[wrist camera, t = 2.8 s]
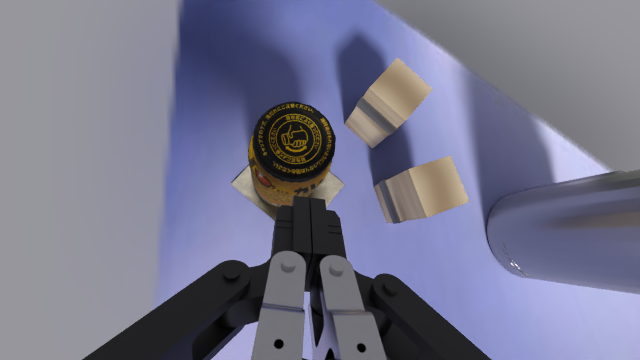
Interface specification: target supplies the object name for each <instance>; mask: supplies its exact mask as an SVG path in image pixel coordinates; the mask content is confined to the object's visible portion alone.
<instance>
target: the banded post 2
mask: <svg viewBox="0 0 640 360" xmlns="http://www.w3.org/2000/svg"><path fill="white" fill-rule="evenodd" d="M373 187H374V189H375V192H376V195H377V198H378V200H379V203H380V206H381V208H382V211H383V214H384V217H385V219H386V222H387V223H392V222H393V224H394V223H401V222H403V221H406V220H414V219H421V218H427V217H430V216H433V215H435V214H438V213H441V212H443V211H446V210H449V209H451V208H454V207H457V206H459V205H462V204H465V203H467V202H469V200H468V197H467V195H466V192H465V190H464V187H463V185H462V182H461V180H460V177H459V175H458V173H457V170H456V168H455V165H454V163H453V160H452V158H451V155H450V156H447V157H444V158H441V159H438V160H435V161H432V162H429V163H426V164H423V165H420V166H417V167H414V168H410V169H408V170H406V171H404V172H402V173H400V174H398V175H396V176H394V177H391V178H388V179H385V180H383V181H381V182H379V183H378V184H377V185H375V186H373Z"/></svg>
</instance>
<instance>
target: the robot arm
mask: <svg viewBox="0 0 640 360" xmlns="http://www.w3.org/2000/svg"><path fill="white" fill-rule="evenodd" d="M487 235H488V240H489V244H490V247H491V249H492V252H493V254H494V256H495V257H496V259H497V260H498V262H499V263H500V264H501V265H502V266H503V267H504V268H505V269H507V270H508V271H509V272H511V273H512V274H515V275H517V276H520V277H524V278H531V279H538V280H544V281H551V282H557V283H564V284H571V285H578V286H585V287H592V288H599V289H606V290H613V291H620V292H627V293H634V294H640V170H635V171H629V172H624V171H615V172H610V173H604V174H599V175H594V176H589V177H584V178H579V179H574V180H569V181H564V182H559V183H554V184H549V185H544V186H539V187H534V188H530V189H529V190H528V191H523V192H518V193H513V194H509V195H506V196H505V197H503V198H501V199H500V200H499V201H498V202H497V203H496V204H495V205H494V207H493V208H492V210H491V212H490V215H489V218H488V224H487ZM304 291H307V292H310V301H309V305H308V313H309V323H310V332H311V341H312V350H313V359H312V360H491V359H490V358H489V357H488V356H487V355H485V354H484V353H483V352H482V351H481V350H480V349H479V348H477V347H476V346H475V345H474V344H473V343H472V342H471V341H469V340H468V339H467V338H466V337H465V336H464V335H463V334H461V333H460V332H459V331H458V330H457V329H456V328H455V327H453V326H452V325H451V324H450V323H449V322H448V321H447V320H445V319H444V318H443V317H442V316H441V315H440V314H439V313H437V312H436V311H435V310H434V309H433V308H432V307H431V306H429V305H428V304H427V303H426V302H425V301H424V300H423V299H421V298H420V297H419V296H418V295H417V294H416V293H415V292H413V291H412V290H411V289H410V288H409V287H408V286H407V285H405V284H404V283H403V282H402V281H401V280H400V279H398V278H397V277H395V276H393V275H390V274H379V275H377V276H376V277H375V278H374V279H372V278H370V277H367V276H364V275H362V274H359V273H358V272H356V271H355V270H354V269H353V267H352V265H351V263H350V262H349V261H348V260H347V258H346V252H345V246H344V240H343V235H342V229H341V223H340V218H339V217H338V215H337V214H336V212H335V211H331V210H326V203H325V199H319V198H309V197H301V196H293V201H292V206H287V205H281V206H280V208H279V209H278V210H277V212H276V219H275V225H274V232H273V241H272V251H271V258H270V259H269V260H268V261H267V262H266V263H264V264H262V265H259V266H255V267H250V268H249V267H248V266H247V265H246V264H245V263H243V262H241V261H237V260H228V261H224V262H222V263H220V264H218V265H217V266H216V267H214V268H213V269H211V270H210V271H208V272H207V273H206V274H204V275H203V276H201V277H200V278H198V279H197V280H196V281H194V282H193V283H191V284H190V285H188V286H187V287H185V288H184V289H183V290H181V291H180V292H178V293H177V294H175V295H174V296H173V297H171V298H170V299H168V300H167V301H165V302H164V303H163V304H161V305H160V306H158V307H157V308H155V309H154V310H153V311H151V312H150V313H148V314H147V315H146V316H144V317H143V318H141V319H140V320H138V321H137V322H135V323H134V324H133V325H131V326H130V327H128V328H127V329H125V330H124V331H123V332H121V333H120V334H118V335H117V336H115V337H114V338H112V339H111V340H110V341H108V342H107V343H105V344H104V345H103V346H101V347H100V348H98V349H97V350H96V351H94V352H93V353H91V354H90V355H88V356H87V357H85V358H84V359H82V360H211V359H212V358H213V357H214V356H215V355H216V354H217V353H218V352H219V351H220V350H221V349H222V348H223V347H224V346H225V345H226V344H227V343H228V342H229V341H230V340H231V339H232V338H234V337H235V336H236V335H237V334H238V333H239V332H240V331H241V330H242V329H243V327H244V326H245V325H246V324H250V323H254V322H257V321H258V327H257V332H256V337H255V342H254V347H253V352H252V357H251V360H307V359H304V358H302V351H303V335H304V319H305V311H304V310H303V302H304Z"/></svg>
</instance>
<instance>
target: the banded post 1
mask: <svg viewBox="0 0 640 360" xmlns="http://www.w3.org/2000/svg"><path fill="white" fill-rule="evenodd" d="M431 90H432V88H431V87H430V86H429V85H428V84H426V83H425V82H424V81H423V80H422V79H421V78H420V77H419V76H418V75H416V74H415V73H414V72H413V71H412V70H411V69H410V68H409V67H407V66H406V65H405V64H404V63H403V62H402V61H401V60H400V59H399V58H397V59H396V60H395V61H394V62H393V63H392V64H391V65H390V66H389V67H388V68H387V69H386V70H385V71H384V72H383V74H382V75H381V76H380V77H379V78H378V79H377V80H376V81H375V82H374V83H373V84H372V85H371V86H370V87H369V89H368V90H367V91H366V93H365V94H364V95H363V96H362V97H361V98H360V100H359V101H358V103H357V104H356V108H355V109H354V111H353V112H352V114H351V115H350V116H349V118H348V119H347V121H346V122H345V125H346V126H347V127H348V128H349V129H351V130H352V131H353V132H354V133H355V134H356V135H357V136H358V137H360V138H361V139H362V140H363V141H364V142H365V143H366V144H367V145H368V146H370V147H371V148H372V149H373V148H374V147H375V146H377V145H378V144H379V143H380V142H381V141H382V140H384V139H385V138H386V137H387V136H388V135H391V134H393V133H394V132H395V131H396V130H397V129H398V128H399V127H400V126H401V125H402V123H404V122H405V121H406V120H407V119H408V117H409V116H410V115H411V114H412V113H413V112H414V110H415V109H416V108H417V107H418V106H419V105H420V103H421V102H422V101H423V100H424V99H425V97H426V96H427V95H428V94H429V93H430V92H431Z"/></svg>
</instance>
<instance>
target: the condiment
mask: <svg viewBox="0 0 640 360" xmlns="http://www.w3.org/2000/svg"><path fill="white" fill-rule="evenodd" d="M335 141H336V137H335V135H334V132H333V130H332V127H331V125H330V123H329V121H328V120H327V118H326V117H325V116H324V115H322V114H321V113H320V112H319V111H318V110H316V109H315V108H313V107H312V106H310V105H305V104H301V103H299V102H286V103H283V104H279V105H277V106H275V107H273V108H271V109H269V110H268V111H267V112H266V113H265V114H264V115H262V116H261V118H260V119H259V120H258V122H257V125H256V127H255V130H254V133H253V135H252V137H251V140H250V144H249V149H248V161H249V164H250V165H249V166H248V167H247V168H246V169H245V170H244V171H243V172H242V173H241V174H240V175H239V176H238V177H237V178H236V179H235V180H234V182H233V183H232V184H231V185H232V186H234V187H235V188H236V189H237V190H238V191H240V192H241V193H242V194H243V195H244V196H246V197H247V198H248V199H249V200H250V201H252V202H253V203H254V204H255V205H256V206H258V207H259V208H260V209H261V210H262V211H264V212H265V213H266V214H267V215H268V216H270V217H271V218H272V219H273V220H274V221H275V219H276V212H277V210H278V209H279V208H280V206H281V205H287V206H292V201H293V196H301V197H309V198H319V199H325V203H326V207H327V205H328V204H329V203H330V202H331V201H332V199H333V198H334V197H335V196H336V194H337V193H338V192H339V191H340V189H341V188H342V187H343V186H344V183H342V182H341V181H340V180H339V179H338V178H336V177H335V176H334V175H333V174H332V173H331V172H329V169H330V166H331V162H332V158H333V156H334V152H335ZM315 188H317V189H315Z"/></svg>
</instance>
